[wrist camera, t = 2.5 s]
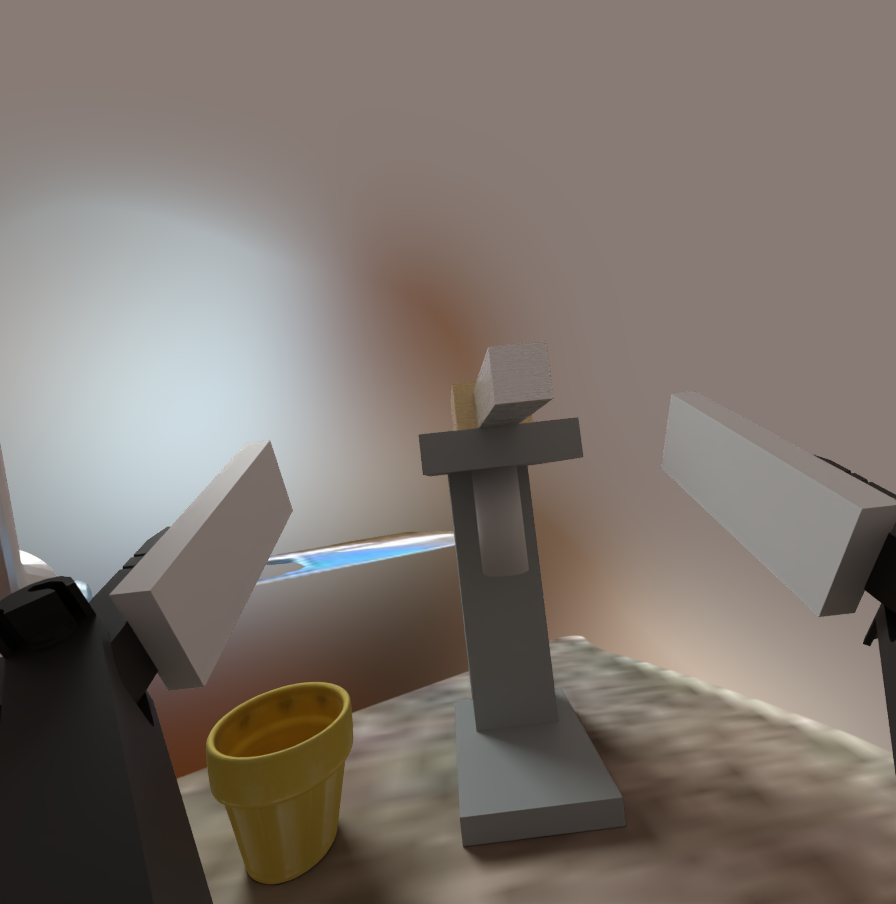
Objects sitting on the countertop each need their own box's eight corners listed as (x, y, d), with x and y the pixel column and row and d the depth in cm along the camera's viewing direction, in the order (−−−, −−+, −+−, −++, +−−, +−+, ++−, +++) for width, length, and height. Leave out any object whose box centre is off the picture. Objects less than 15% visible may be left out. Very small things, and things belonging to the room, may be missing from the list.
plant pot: (302, 934, 26) (289, 767, 26) (180, 894, 29) (171, 748, 30) (385, 804, 35) (374, 684, 36) (286, 786, 39) (277, 677, 39)
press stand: (463, 858, 29) (418, 434, 31) (456, 719, 46) (427, 450, 48) (632, 837, 30) (578, 417, 31) (563, 706, 47) (531, 438, 48)
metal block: (465, 407, 21) (457, 330, 22) (455, 442, 41) (450, 401, 42) (582, 395, 21) (572, 318, 22) (515, 435, 41) (510, 395, 42)
